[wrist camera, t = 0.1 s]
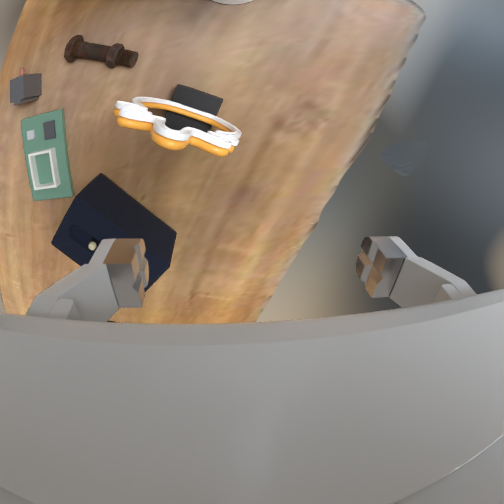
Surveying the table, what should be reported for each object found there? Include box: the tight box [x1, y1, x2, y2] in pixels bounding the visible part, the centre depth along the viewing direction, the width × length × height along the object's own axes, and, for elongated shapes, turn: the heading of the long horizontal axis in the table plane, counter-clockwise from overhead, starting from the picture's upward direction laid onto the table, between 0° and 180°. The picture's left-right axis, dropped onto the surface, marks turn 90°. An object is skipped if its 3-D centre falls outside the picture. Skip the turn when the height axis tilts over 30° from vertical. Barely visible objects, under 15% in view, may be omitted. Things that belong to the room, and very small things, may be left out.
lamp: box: [113, 84, 242, 157], centre depth 36 cm, size 17×9×32 cm, turn 66°
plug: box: [10, 68, 42, 105], centre depth 35 cm, size 8×4×7 cm, turn 176°
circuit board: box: [21, 109, 74, 201], centre depth 46 cm, size 20×12×3 cm, turn 176°
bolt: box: [64, 35, 138, 68], centre depth 37 cm, size 6×5×15 cm
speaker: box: [51, 173, 177, 292], centre depth 53 cm, size 22×13×15 cm, turn 43°
